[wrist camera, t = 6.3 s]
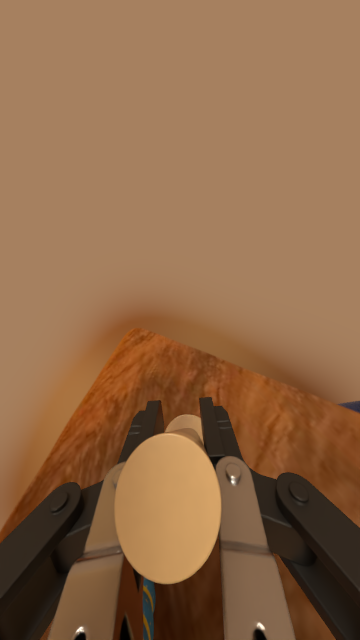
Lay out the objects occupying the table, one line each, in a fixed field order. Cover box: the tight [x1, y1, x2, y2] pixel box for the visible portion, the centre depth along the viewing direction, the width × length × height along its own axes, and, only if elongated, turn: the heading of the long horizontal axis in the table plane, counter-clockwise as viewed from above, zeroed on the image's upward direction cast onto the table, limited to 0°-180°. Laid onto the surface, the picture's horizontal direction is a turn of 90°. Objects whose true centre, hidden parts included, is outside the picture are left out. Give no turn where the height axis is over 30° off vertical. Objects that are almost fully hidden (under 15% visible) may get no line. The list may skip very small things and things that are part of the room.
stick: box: [114, 414, 222, 584], centre depth 10 cm, size 5×5×15 cm
